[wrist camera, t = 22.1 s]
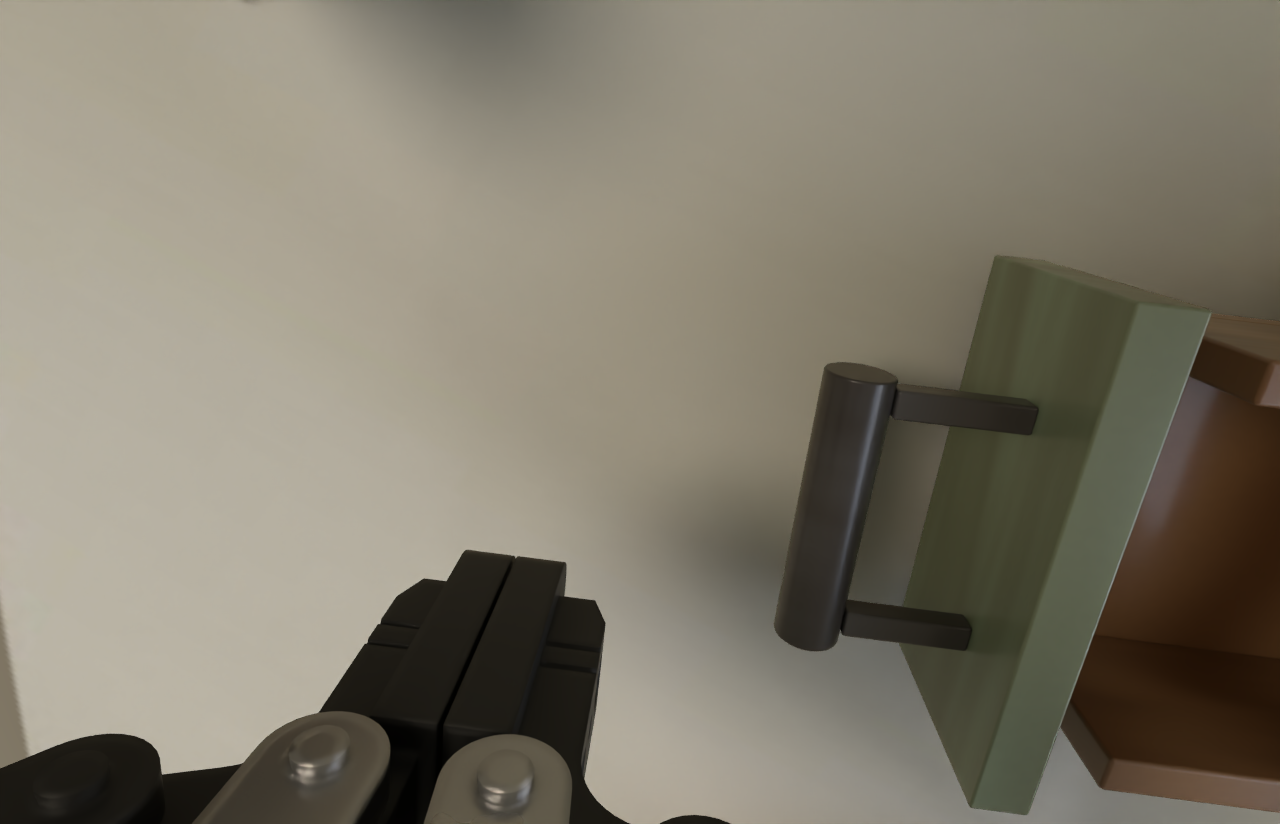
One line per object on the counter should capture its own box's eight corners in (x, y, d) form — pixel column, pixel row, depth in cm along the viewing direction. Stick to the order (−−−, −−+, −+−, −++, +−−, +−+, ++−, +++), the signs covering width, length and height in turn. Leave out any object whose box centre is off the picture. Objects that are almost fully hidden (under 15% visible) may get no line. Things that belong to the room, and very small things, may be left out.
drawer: (746, 615, 21) (766, 781, 15) (815, 233, 17) (875, 270, 12) (1354, 694, 20) (1601, 893, 15) (1549, 319, 17) (1966, 398, 11)
